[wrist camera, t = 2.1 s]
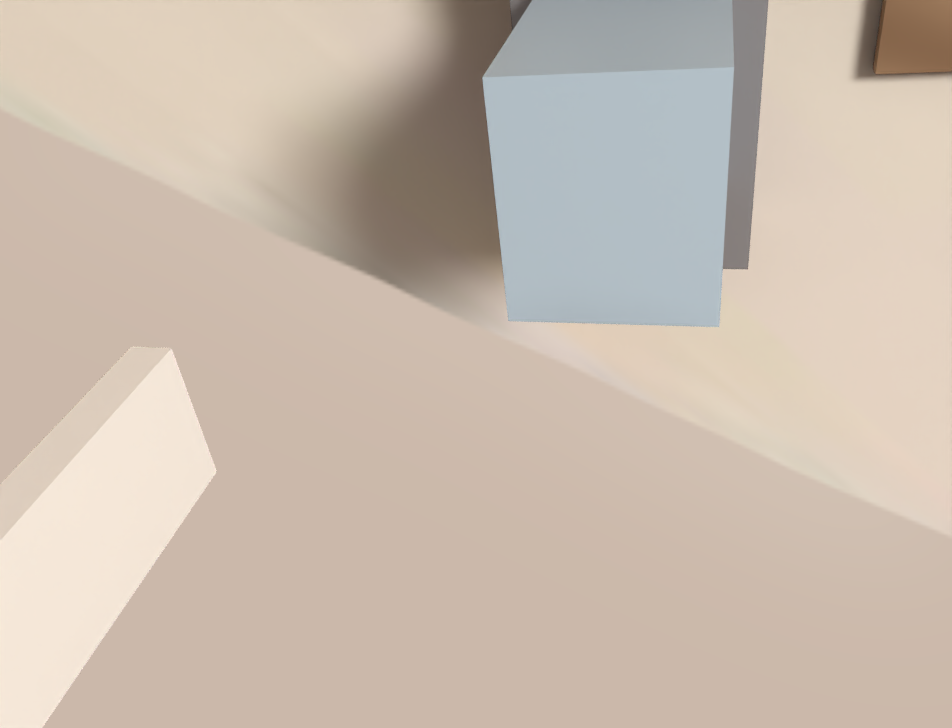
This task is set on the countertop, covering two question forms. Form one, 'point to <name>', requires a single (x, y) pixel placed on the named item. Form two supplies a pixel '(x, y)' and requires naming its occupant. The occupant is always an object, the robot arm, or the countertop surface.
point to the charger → (613, 160)
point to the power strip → (734, 122)
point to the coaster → (914, 37)
